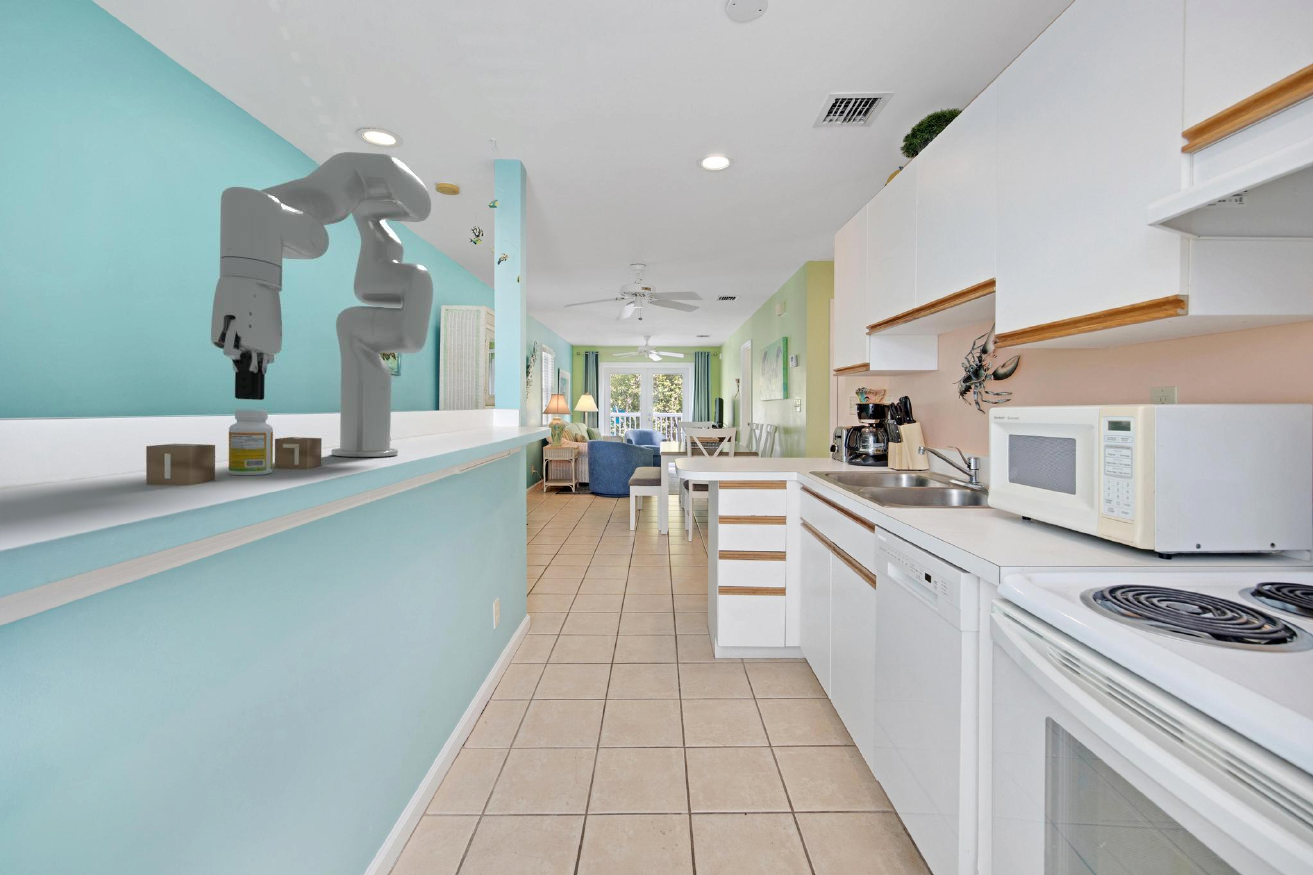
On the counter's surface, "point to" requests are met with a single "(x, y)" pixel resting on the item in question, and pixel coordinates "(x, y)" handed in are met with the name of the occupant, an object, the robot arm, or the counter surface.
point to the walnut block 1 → (180, 464)
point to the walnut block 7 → (297, 453)
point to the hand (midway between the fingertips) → (249, 399)
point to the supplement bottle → (250, 444)
